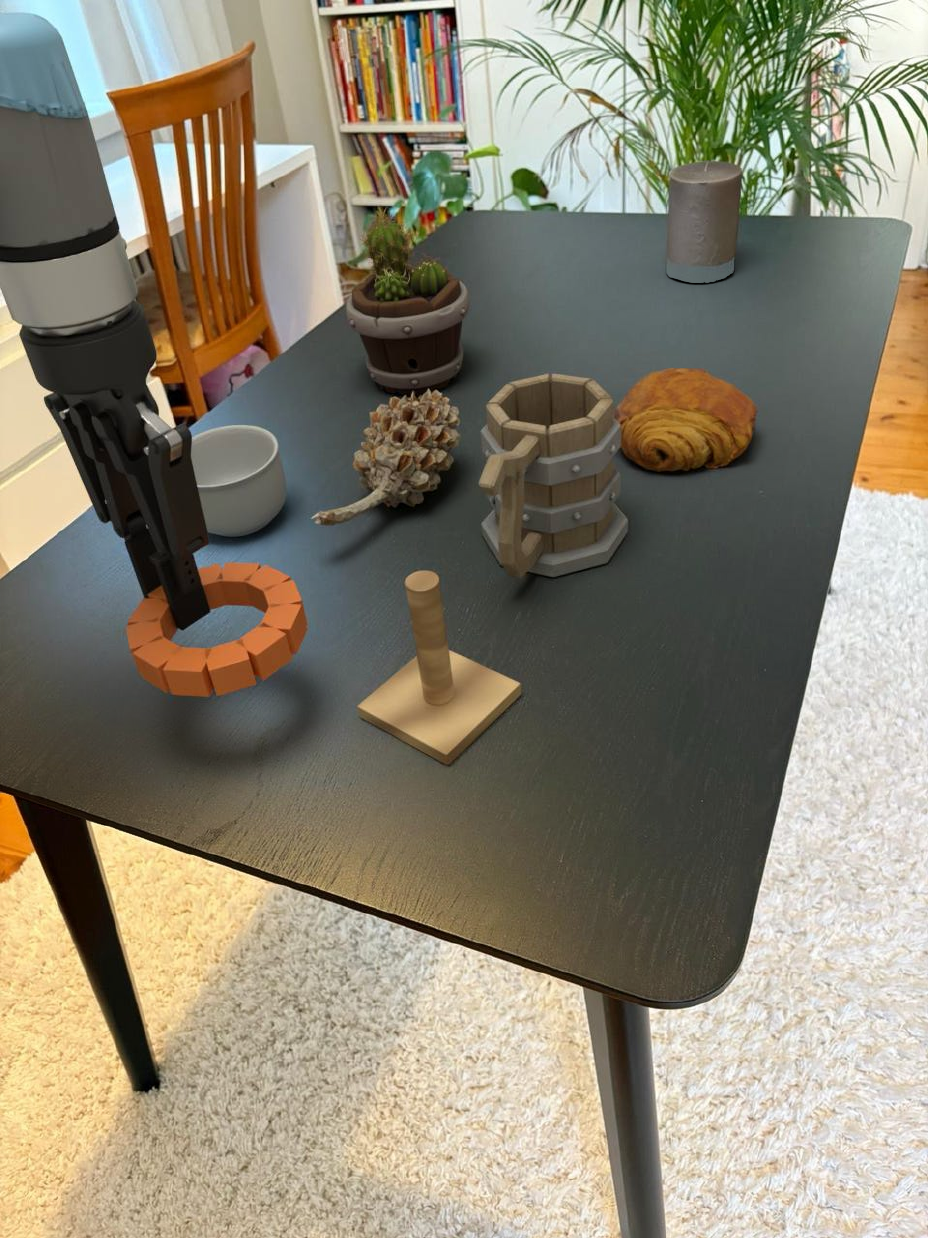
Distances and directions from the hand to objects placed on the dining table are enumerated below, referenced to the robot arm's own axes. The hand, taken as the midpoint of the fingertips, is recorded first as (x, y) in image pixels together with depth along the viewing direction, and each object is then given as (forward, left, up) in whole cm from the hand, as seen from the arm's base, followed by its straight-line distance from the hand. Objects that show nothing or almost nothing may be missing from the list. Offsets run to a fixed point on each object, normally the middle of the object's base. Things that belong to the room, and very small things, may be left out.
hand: (179, 611), depth 74 cm
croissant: (+13, +54, -8) cm, 57 cm away
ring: (+5, 0, 0) cm, 5 cm away
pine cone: (-5, +28, -9) cm, 30 cm away
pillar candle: (-9, +98, -8) cm, 99 cm away
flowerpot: (-23, +52, -8) cm, 58 cm away
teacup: (-19, +18, -9) cm, 28 cm away
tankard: (+12, +29, -8) cm, 33 cm away
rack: (+17, +9, -8) cm, 21 cm away
